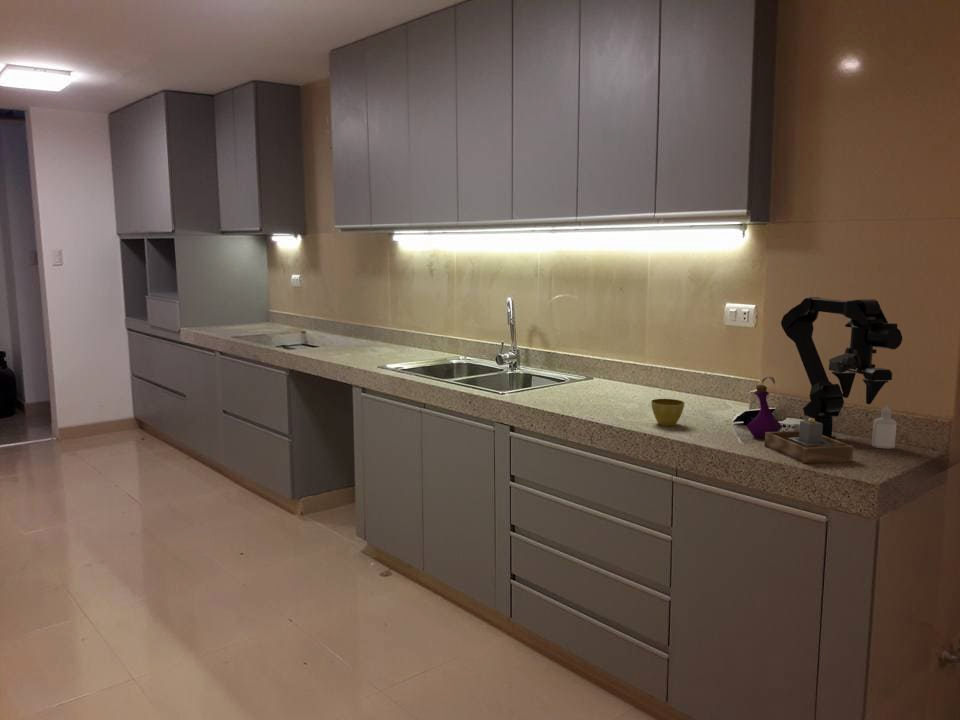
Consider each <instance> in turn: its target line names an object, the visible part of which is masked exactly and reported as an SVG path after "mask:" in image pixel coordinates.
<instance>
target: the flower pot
mask: <svg viewBox="0 0 960 720" xmlns="http://www.w3.org/2000/svg"><path fill="white" fill-rule="evenodd" d="M650 403H651V409H652V411H653V412H652V413H653V415H654V418H655V420H656V422H657V423H658V424H659V425H660V426H663V427H665V426H666V427H672V426H676V425H677V424H678V421H679V420H680V418H681V415H683V412H684V409H685V401H683V400H680V399H675V398H674V399H673V398H655V399H652V400H651V402H650Z"/></svg>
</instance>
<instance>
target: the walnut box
mask: <svg viewBox="0 0 960 720" xmlns="http://www.w3.org/2000/svg"><path fill="white" fill-rule="evenodd" d="M795 437H799V430H795V431H794V430H791V431H789V430H788V431H787V430H786V431H778V432H765V439H764V447H765V448H767V449H769V448H770V450H771V451H774V450H775V451H774V452H776V451H777V452H776V453H778V452H779V454H781V453H782V454H781V455H783V454H784V456H785V455H787V456H789V457H788V458H790V457H791V458H790V459H792V458H793V459H792V460H794V459H796V460H798V461H797V462H799V461H800V462H799V463H801V462H802V463H801V464H803V463H813V464H823V463H822V462H833V463H850V462H849V461H852V462H853V456H854V446H852V445H850V444H847V443H845V442H842V441H840V440H837V439H835V438H829V437H826V436H824V435H822V440H824V441H827V442H829V443H832V444H833V447H812V448H805V447H803V446H801V445H798V444H796V443H793V442H791V441H788V438H795ZM787 456H786V457H787ZM796 460H795V461H796ZM847 461H848V462H847ZM820 462H821V463H820Z"/></svg>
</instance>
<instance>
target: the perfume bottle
mask: <svg viewBox="0 0 960 720" xmlns="http://www.w3.org/2000/svg"><path fill="white" fill-rule="evenodd" d="M767 379H769V380H771V382H772V384H773V385H775V384H776V381H775V377H773V376H767V377H766V376H765V377H764V378H763V379H762V381H761V384H757V385H756V388H755V389H756V390H755V391H754V392H753V393H754V395H756V396H757V398H758V400H759V405H760V407H759V408H760V409H759V412H758V414H757V415H755V417H754V418H753V419H752V420H751V421H750V422H749V423H748V424H746V428H747V429H748V431H749V432H750V433H751V435H752V437H753V438H756V439H757V438H758V439H762V440H763V439H764V440H765V432H780V430H781V429H782V428H783V426H782V424H781V423H780V422H779V421H778V420H777V419H776V417H775V416H774V415H773V413H772V412H771V410H770V407H769V404H768V401H767V396H769V395H770V393H769V392H768V391H767V390H768V388H767V386H766V385H764V384H763V383H764V382H765V380H767Z"/></svg>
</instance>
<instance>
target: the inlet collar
mask: <svg viewBox="0 0 960 720" xmlns="http://www.w3.org/2000/svg"><path fill="white" fill-rule="evenodd" d="M788 441H791V442H793V443H796V444H798V445H801V446H803V447H805V448H812V447H833V444H832V443H829V442H827V441H824V440H822V441H821V443H819V444H806V443H803V442H801V441H799V437H795V438H788Z"/></svg>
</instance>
